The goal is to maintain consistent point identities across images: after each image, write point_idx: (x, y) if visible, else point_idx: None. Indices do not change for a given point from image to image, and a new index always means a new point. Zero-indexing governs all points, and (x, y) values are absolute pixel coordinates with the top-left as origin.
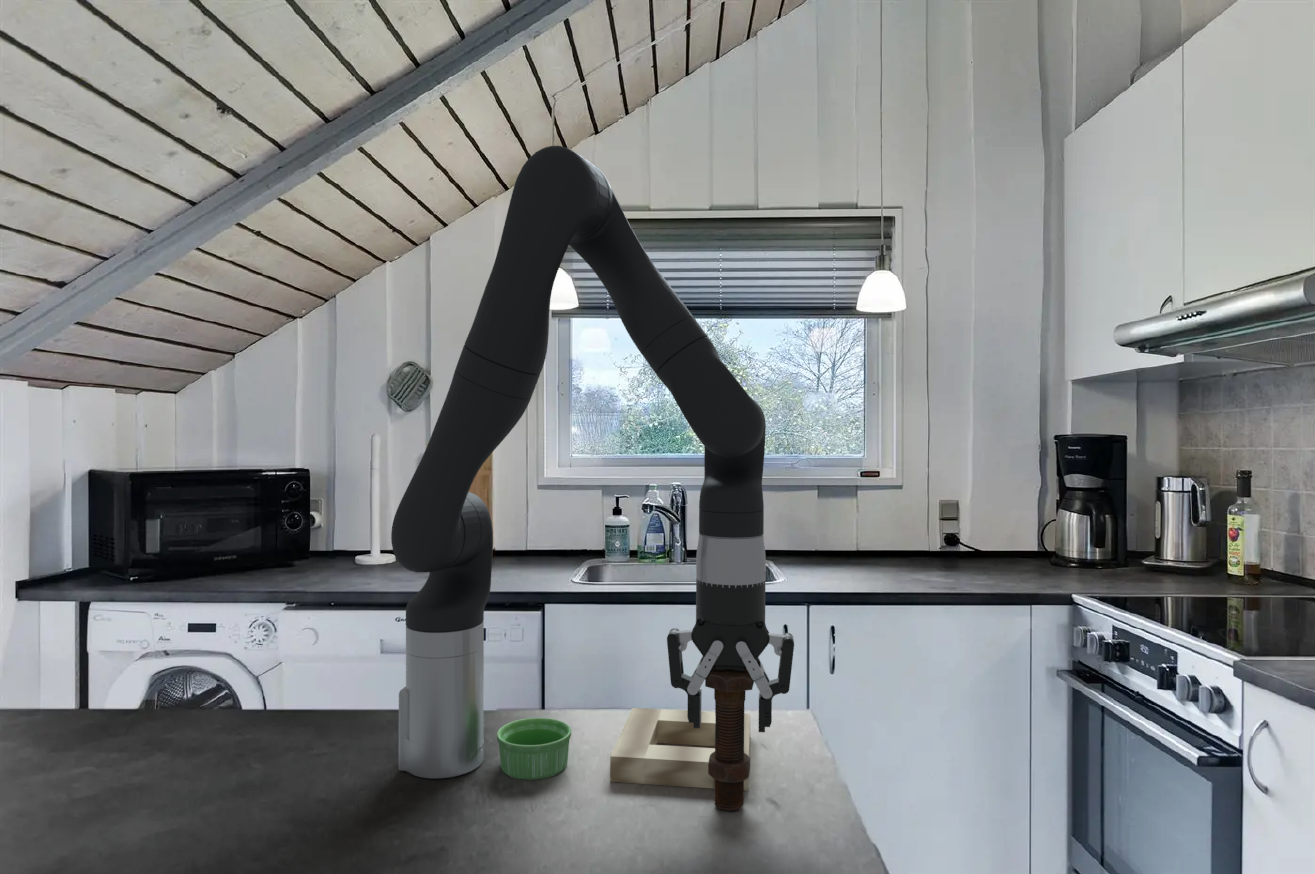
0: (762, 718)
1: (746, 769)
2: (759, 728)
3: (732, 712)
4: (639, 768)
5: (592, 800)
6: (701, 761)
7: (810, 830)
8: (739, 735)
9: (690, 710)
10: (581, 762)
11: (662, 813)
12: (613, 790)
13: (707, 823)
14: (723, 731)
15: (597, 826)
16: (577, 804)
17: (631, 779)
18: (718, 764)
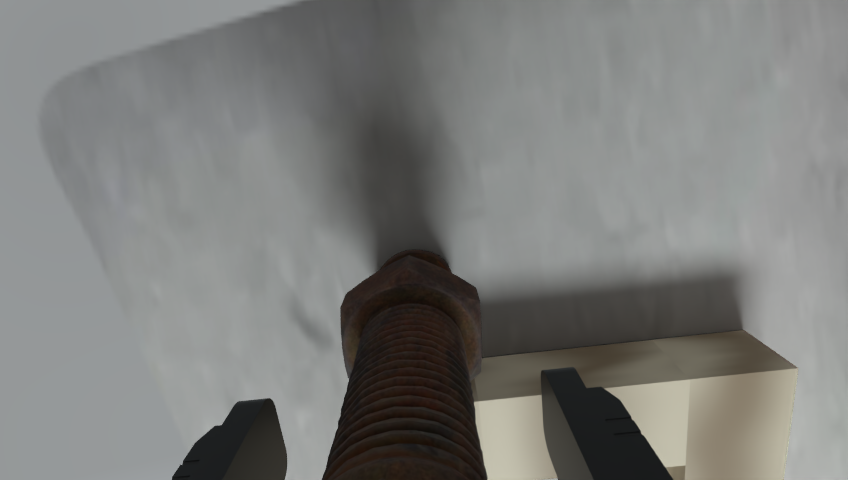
0: (224, 441)
1: (346, 301)
2: (258, 403)
3: (375, 429)
4: (686, 359)
5: (778, 222)
6: (513, 398)
7: (194, 214)
8: (358, 373)
9: (620, 428)
10: (833, 409)
11: (579, 202)
12: (728, 288)
13: (454, 181)
14: (426, 362)
15: (747, 86)
16: (818, 190)
17: (690, 341)
18: (440, 285)
